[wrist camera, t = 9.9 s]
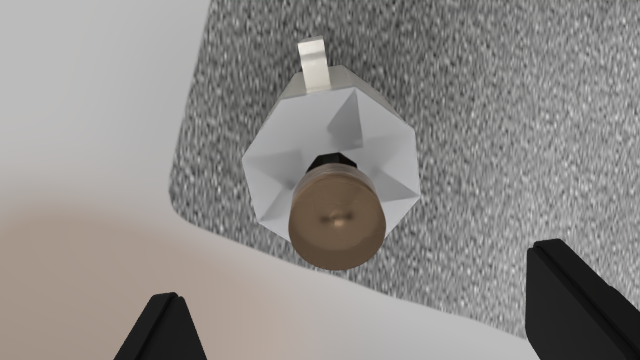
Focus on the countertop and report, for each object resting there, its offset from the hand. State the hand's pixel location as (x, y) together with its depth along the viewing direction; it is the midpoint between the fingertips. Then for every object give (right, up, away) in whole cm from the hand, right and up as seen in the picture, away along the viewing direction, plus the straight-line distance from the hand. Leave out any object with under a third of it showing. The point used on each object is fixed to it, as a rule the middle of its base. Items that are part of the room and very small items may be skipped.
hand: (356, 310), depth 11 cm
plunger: (0, +8, +22) cm, 23 cm away
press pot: (-1, +9, +23) cm, 24 cm away
